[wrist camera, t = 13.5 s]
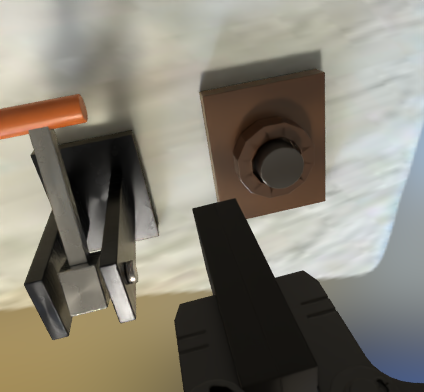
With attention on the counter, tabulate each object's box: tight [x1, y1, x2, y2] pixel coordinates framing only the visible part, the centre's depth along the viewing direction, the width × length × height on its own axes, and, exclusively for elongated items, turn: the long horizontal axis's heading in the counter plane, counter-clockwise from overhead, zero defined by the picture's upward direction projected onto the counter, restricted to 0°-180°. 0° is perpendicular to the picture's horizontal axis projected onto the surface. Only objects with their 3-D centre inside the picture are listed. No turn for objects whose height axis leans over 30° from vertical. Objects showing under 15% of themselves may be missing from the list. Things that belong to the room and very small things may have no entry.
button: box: [255, 140, 304, 189], centre depth 31 cm, size 4×4×2 cm
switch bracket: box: [24, 130, 159, 340], centre depth 28 cm, size 10×8×14 cm
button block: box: [199, 69, 325, 219], centre depth 33 cm, size 12×10×4 cm
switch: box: [0, 94, 110, 317], centre depth 22 cm, size 12×5×2 cm, turn 9°
